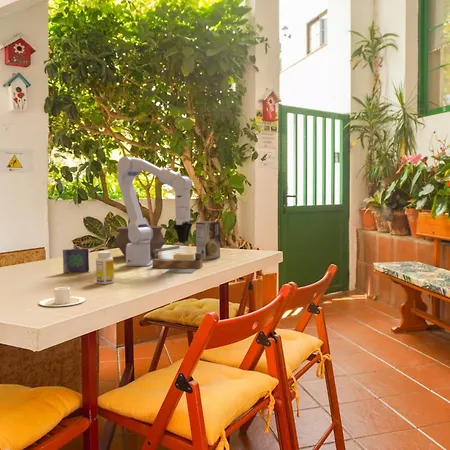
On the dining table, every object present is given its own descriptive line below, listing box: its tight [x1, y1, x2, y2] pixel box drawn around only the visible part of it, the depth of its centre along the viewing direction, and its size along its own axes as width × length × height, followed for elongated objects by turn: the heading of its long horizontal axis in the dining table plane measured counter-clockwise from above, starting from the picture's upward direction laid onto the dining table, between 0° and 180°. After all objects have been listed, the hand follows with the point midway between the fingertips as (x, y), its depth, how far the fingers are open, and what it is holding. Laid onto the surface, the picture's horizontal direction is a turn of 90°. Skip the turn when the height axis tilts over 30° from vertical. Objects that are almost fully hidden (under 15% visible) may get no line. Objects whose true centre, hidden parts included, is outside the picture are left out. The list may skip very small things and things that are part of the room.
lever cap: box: [172, 252, 195, 261], centre depth 194 cm, size 7×5×2 cm
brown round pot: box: [115, 219, 166, 259], centre depth 228 cm, size 24×24×16 cm
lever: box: [153, 245, 181, 259], centre depth 201 cm, size 15×2×4 cm, turn 147°
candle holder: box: [38, 286, 86, 307], centre depth 135 cm, size 12×12×4 cm
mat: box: [164, 268, 197, 274], centre depth 185 cm, size 10×8×1 cm
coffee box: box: [195, 220, 221, 260], centre depth 221 cm, size 9×6×16 cm
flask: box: [62, 243, 90, 274], centre depth 186 cm, size 9×3×11 cm, turn 109°
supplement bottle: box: [95, 250, 115, 285], centre depth 163 cm, size 6×6×10 cm
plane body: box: [151, 252, 204, 269], centre depth 195 cm, size 19×4×6 cm, turn 82°
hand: (183, 242), depth 194 cm, fingers open, 4 cm apart
